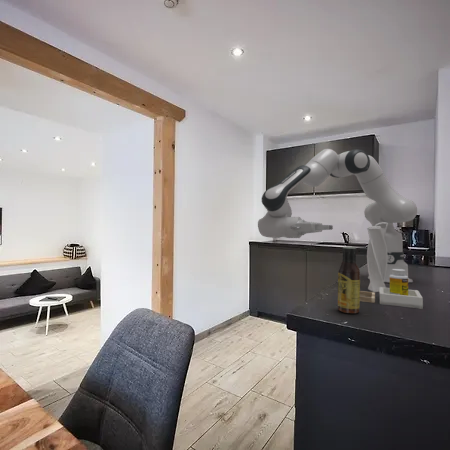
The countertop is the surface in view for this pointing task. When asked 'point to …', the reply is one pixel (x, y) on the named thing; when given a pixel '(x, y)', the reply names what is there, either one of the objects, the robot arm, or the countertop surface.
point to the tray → (401, 298)
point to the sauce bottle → (349, 282)
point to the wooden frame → (367, 299)
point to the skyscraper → (377, 257)
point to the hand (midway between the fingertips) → (330, 227)
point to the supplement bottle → (398, 282)
